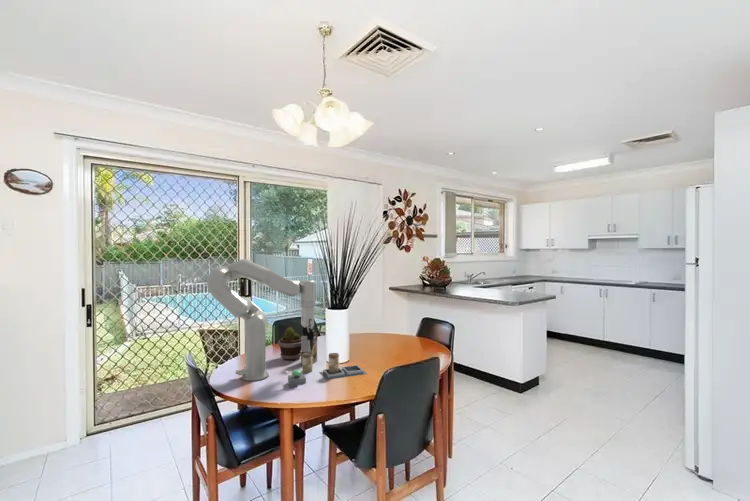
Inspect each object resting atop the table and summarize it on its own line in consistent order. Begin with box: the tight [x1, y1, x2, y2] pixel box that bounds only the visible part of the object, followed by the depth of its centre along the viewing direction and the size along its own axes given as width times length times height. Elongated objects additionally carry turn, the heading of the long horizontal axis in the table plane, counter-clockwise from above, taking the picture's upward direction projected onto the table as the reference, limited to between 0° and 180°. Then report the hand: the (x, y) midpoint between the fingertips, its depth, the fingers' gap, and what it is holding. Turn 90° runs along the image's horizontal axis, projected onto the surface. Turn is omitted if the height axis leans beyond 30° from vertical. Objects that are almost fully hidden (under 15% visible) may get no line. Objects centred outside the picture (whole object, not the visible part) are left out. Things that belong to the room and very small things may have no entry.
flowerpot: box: [277, 326, 301, 362], centre depth 212 cm, size 14×15×20 cm
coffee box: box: [300, 332, 318, 366], centre depth 204 cm, size 9×6×16 cm
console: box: [287, 372, 307, 389], centre depth 171 cm, size 7×7×4 cm
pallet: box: [318, 364, 368, 381], centre depth 183 cm, size 22×12×3 cm, turn 113°
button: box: [291, 369, 303, 378], centre depth 171 cm, size 4×4×4 cm
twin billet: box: [328, 352, 340, 374], centre depth 181 cm, size 5×5×10 cm
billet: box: [301, 353, 313, 374], centre depth 186 cm, size 5×5×10 cm
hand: (308, 337), depth 186 cm, fingers open, 9 cm apart
